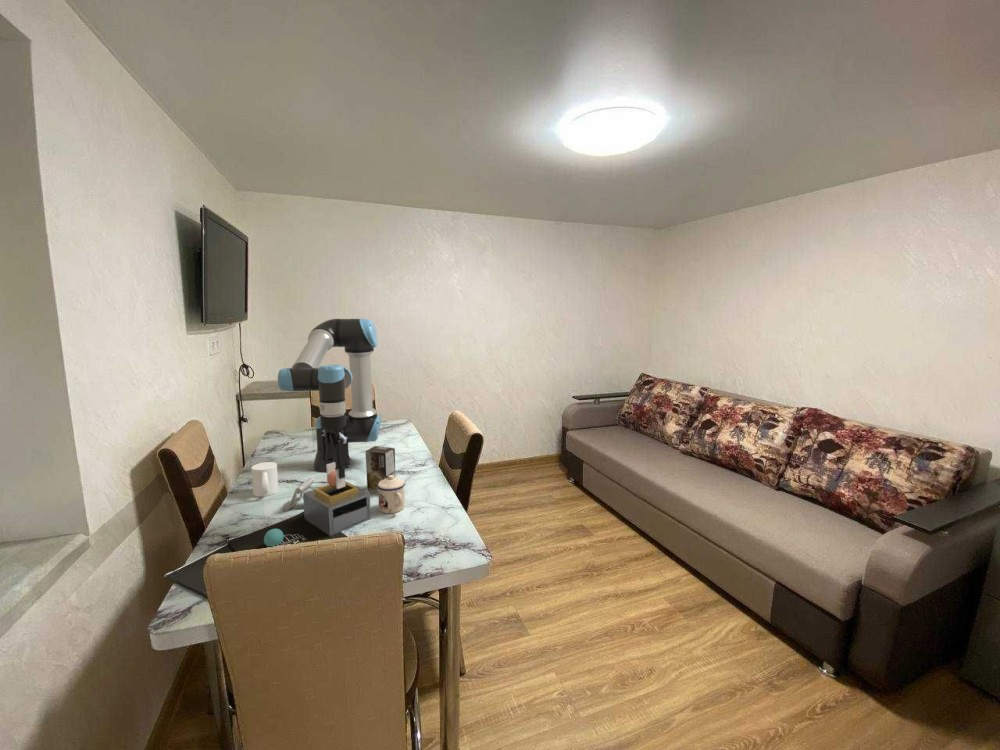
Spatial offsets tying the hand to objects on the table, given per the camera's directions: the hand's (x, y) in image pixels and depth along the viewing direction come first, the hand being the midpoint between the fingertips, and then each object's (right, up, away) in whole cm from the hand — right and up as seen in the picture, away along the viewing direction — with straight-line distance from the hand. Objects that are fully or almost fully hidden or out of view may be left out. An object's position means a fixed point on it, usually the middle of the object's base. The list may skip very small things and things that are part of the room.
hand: (336, 484), depth 133 cm
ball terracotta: (0, 0, 0) cm, 0 cm away
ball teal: (-12, -14, -14) cm, 23 cm away
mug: (-34, -9, +20) cm, 40 cm away
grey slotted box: (0, -12, +2) cm, 12 cm away
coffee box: (+7, -9, +25) cm, 27 cm away
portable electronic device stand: (-17, -10, +11) cm, 23 cm away
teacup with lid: (+16, -11, +9) cm, 22 cm away
